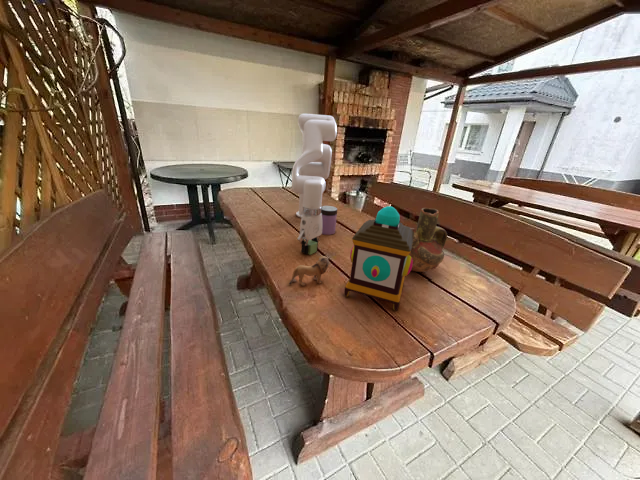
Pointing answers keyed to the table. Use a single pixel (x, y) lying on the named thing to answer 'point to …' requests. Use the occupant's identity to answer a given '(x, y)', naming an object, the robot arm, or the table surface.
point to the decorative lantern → (381, 257)
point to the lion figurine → (311, 270)
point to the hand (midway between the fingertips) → (309, 250)
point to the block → (312, 247)
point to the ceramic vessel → (427, 242)
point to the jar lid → (328, 210)
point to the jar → (328, 224)
